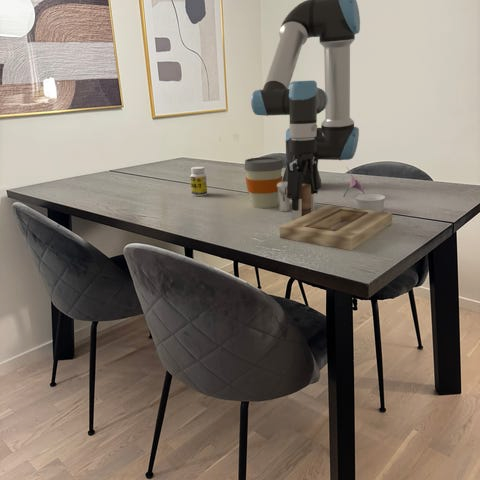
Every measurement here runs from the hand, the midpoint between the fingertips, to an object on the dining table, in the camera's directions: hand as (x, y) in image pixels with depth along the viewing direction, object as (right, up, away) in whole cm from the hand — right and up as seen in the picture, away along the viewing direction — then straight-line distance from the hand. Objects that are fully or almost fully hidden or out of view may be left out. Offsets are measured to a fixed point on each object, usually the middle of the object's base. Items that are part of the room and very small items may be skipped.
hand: (303, 217), depth 141 cm
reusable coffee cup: (-10, +5, +19) cm, 22 cm away
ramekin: (+21, +2, +6) cm, 22 cm away
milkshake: (-4, +3, +11) cm, 12 cm away
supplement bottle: (-34, +10, +38) cm, 52 cm away
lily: (+21, +8, +25) cm, 34 cm away
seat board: (+7, -4, -13) cm, 15 cm away
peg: (0, 0, 0) cm, 0 cm away
